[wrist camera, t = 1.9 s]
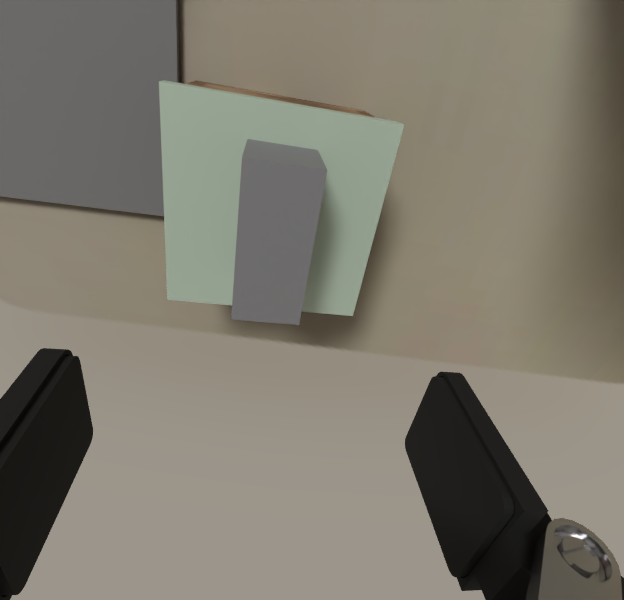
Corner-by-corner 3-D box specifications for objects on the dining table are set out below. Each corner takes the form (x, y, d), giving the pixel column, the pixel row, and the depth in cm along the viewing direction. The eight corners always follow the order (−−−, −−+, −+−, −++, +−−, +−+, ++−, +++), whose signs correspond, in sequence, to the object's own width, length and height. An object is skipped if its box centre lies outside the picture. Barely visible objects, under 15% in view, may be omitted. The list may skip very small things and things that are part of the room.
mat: (177, -49, 21) (175, -52, 20) (181, 215, 28) (179, 218, 28) (-149, -124, 18) (-161, -130, 18) (-47, 187, 26) (-54, 189, 26)
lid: (392, 118, 21) (432, 139, 16) (347, 298, 27) (365, 356, 22) (170, 78, 19) (130, 87, 14) (175, 281, 25) (149, 341, 20)
